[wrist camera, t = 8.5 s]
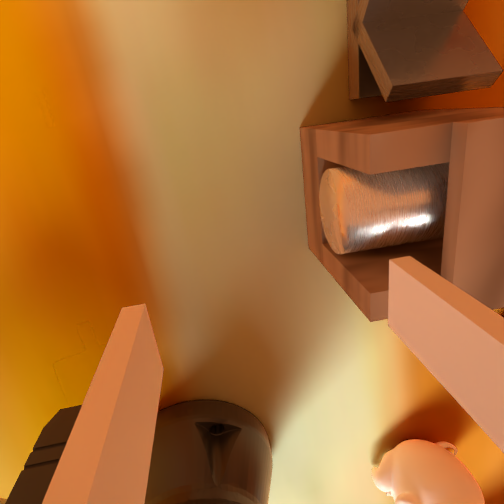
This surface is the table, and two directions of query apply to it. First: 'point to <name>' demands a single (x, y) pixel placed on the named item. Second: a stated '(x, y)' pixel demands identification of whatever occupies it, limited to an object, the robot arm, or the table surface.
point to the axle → (382, 207)
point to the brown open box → (457, 205)
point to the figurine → (426, 475)
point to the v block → (415, 49)
